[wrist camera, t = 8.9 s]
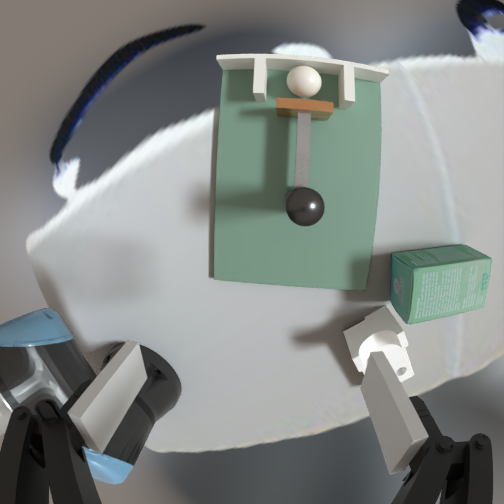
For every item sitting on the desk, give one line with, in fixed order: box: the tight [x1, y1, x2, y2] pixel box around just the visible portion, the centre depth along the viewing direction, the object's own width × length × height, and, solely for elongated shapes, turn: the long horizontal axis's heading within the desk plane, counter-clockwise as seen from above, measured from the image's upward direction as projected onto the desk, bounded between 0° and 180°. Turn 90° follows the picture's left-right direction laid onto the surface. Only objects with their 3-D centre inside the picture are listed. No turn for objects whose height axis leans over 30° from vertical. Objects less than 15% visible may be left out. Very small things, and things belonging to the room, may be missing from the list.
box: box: [390, 245, 492, 324], centre depth 29 cm, size 7×14×8 cm, turn 98°
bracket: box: [343, 305, 414, 382], centre depth 33 cm, size 13×7×8 cm, turn 32°
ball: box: [287, 66, 322, 97], centre depth 26 cm, size 4×4×4 cm
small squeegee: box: [276, 97, 333, 226], centre depth 25 cm, size 6×13×10 cm, turn 177°
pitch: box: [214, 54, 389, 291], centre depth 30 cm, size 20×28×4 cm
